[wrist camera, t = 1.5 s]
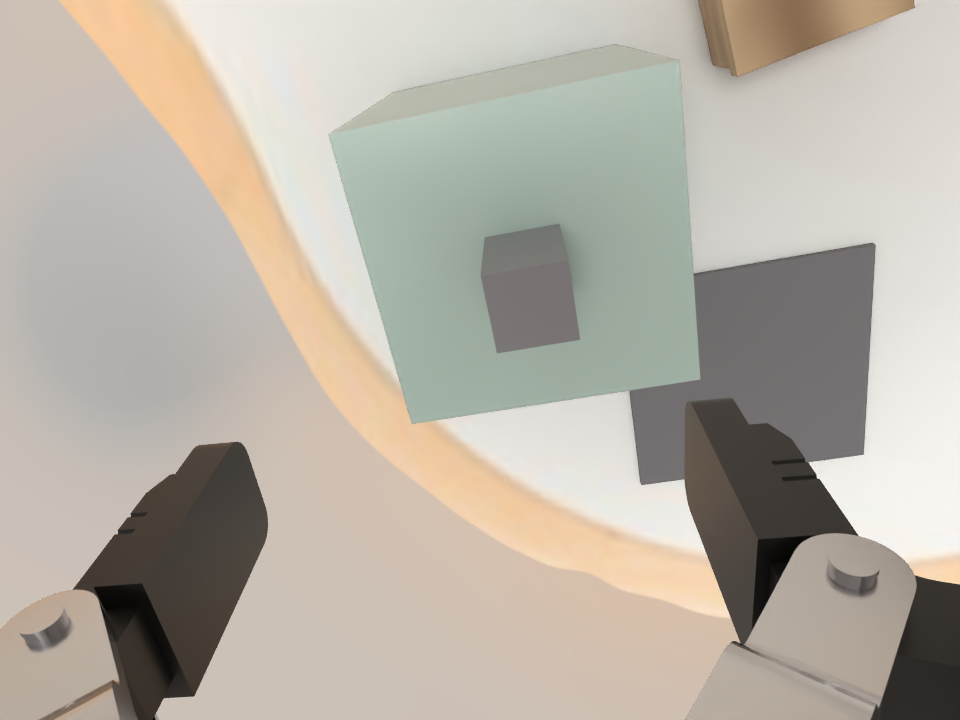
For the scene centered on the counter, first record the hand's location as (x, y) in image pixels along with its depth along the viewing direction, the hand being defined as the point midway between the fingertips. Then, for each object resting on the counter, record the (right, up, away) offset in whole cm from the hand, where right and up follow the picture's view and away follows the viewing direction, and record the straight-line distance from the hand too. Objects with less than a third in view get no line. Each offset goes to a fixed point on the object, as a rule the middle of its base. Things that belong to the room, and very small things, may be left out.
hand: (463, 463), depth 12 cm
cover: (+3, +13, +29) cm, 32 cm away
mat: (+19, +1, +35) cm, 40 cm away
